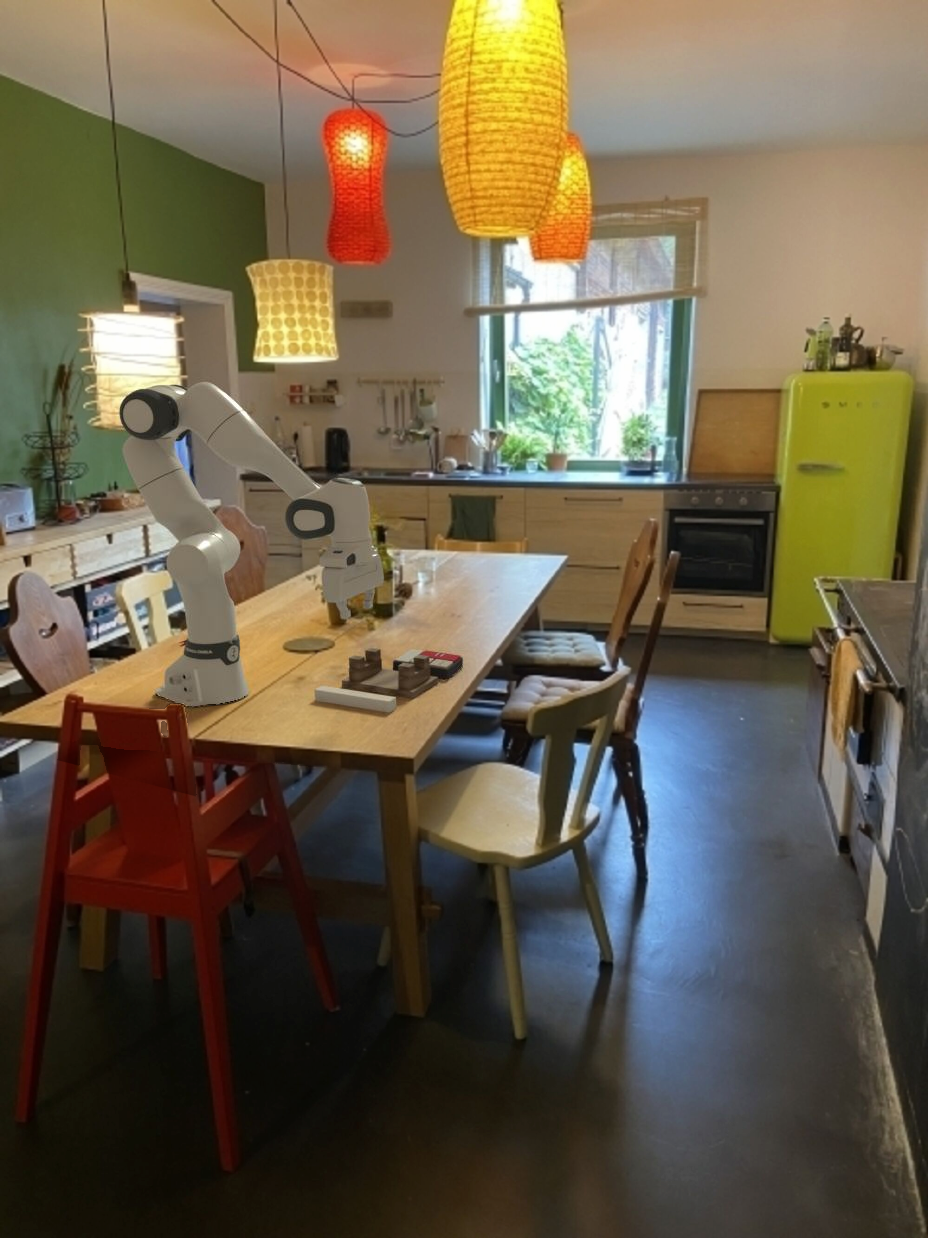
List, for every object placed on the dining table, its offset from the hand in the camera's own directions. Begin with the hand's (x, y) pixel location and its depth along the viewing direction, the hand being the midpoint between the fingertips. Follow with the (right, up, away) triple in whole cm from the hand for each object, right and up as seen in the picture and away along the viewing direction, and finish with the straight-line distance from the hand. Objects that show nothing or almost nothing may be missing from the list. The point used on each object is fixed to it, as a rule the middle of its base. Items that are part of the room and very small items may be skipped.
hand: (357, 613), depth 197 cm
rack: (+6, -17, +17) cm, 25 cm away
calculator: (+15, -15, +28) cm, 35 cm away
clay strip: (-1, -21, +5) cm, 22 cm away
